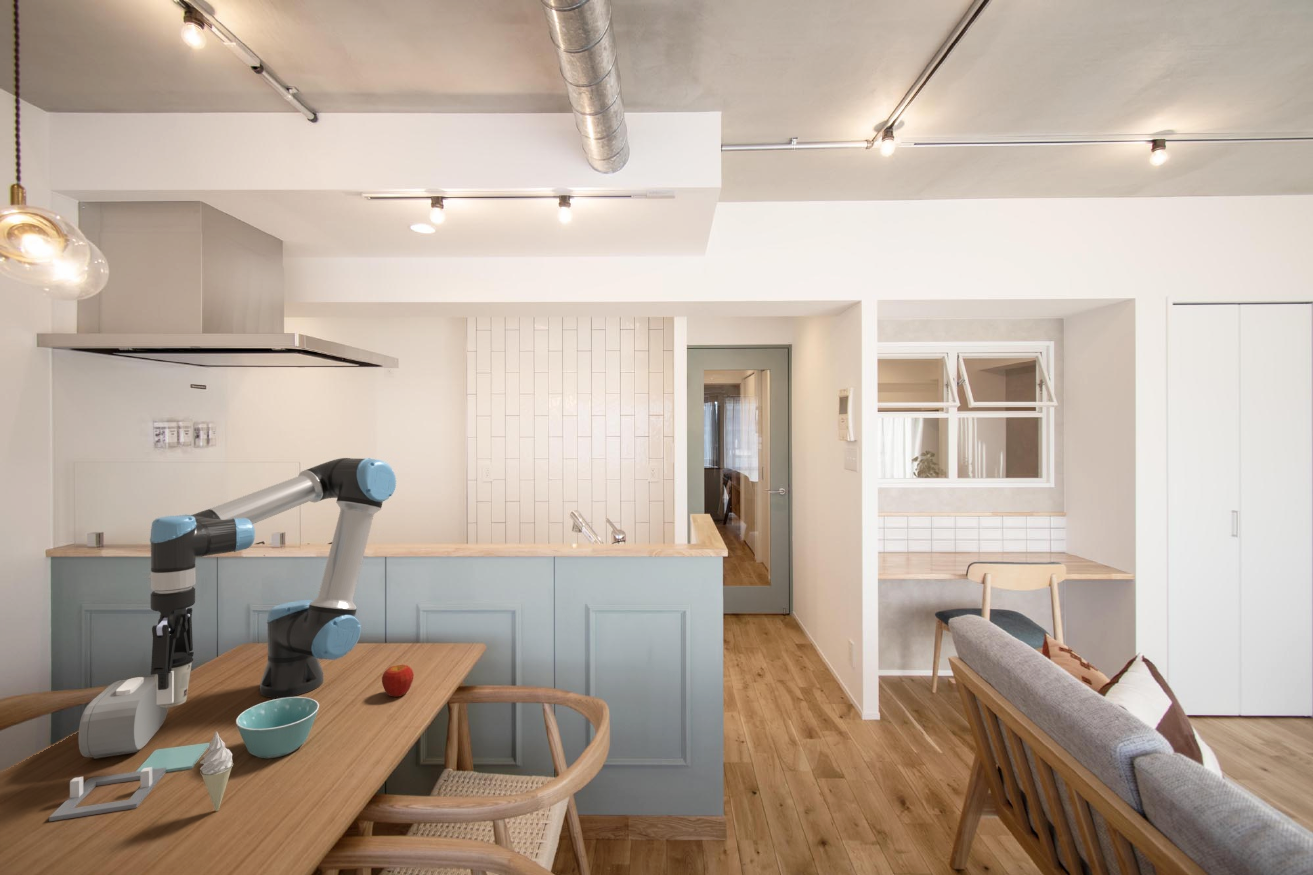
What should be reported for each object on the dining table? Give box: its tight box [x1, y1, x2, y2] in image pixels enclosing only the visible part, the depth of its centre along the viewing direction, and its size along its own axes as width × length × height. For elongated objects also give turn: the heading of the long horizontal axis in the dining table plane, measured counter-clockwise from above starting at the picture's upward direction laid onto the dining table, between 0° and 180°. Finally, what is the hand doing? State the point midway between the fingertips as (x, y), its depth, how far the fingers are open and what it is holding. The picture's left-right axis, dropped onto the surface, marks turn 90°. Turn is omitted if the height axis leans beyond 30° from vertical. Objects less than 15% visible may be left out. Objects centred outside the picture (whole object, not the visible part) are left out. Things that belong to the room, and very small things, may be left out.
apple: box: [381, 664, 415, 698], centre depth 165 cm, size 8×8×8 cm
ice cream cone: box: [199, 730, 234, 812], centre depth 114 cm, size 5×5×15 cm
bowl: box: [235, 696, 320, 759], centre depth 137 cm, size 16×16×8 cm
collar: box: [48, 767, 167, 822], centre depth 119 cm, size 13×13×4 cm
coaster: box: [135, 742, 210, 773], centre depth 131 cm, size 10×10×1 cm
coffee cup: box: [154, 652, 194, 708], centre depth 131 cm, size 7×7×10 cm
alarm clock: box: [78, 675, 169, 759], centre depth 138 cm, size 21×10×13 cm, turn 22°
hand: (172, 695), depth 131 cm, fingers closed on coffee cup, 7 cm apart
